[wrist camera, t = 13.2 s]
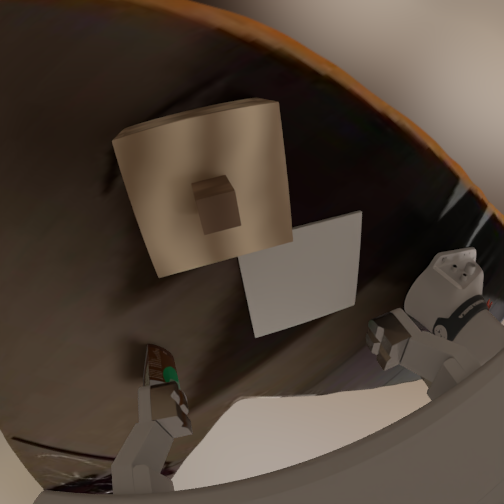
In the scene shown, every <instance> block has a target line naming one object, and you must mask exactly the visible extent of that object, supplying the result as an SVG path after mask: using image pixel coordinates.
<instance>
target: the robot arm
mask: <svg viewBox="0 0 504 504" xmlns="http://www.w3.org/2000/svg"><path fill="white" fill-rule="evenodd" d="M475 260H476V249H475V248H474V247H468V248H463V249H457V250H451V251H446V252H440V253H438V254H436V256H435V257H434V258H433V260H432V261H431V263H430V265H429V266H428V267H427V268H426V269H425V270H424V271H423V272H422V273H421V275H420V276H419V277H418V278H417V279H416V281H415V282H414V283H413V285H412V286H411V288H410V290H409V292H408V294H407V296H406V299H405V303H404V310H405V312H406V313H407V314H408V315H410V316H411V317H413V318H415V319H416V320H417V321H419V322H420V323H421V324H422V325H424V326H425V327H426V328H427V329H428V330H429V331H430V332H432V333H433V334H431V333H429V332H426V331H422V332H421V331H420V330H419V328H418V327H417V326H416V325H415V324H414V322H413V321H412V320H411V319H410V318H409V317H408V315H407V314H406V313H405V312H404V311H403V310H402V309H401V308H397V309H395V310H393V311H391V312H387V313H385V314H383V315H381V316H378V317H376V318H374V319H371V320H370V321H369V323H368V327H369V328H370V329H369V331H368V332H367V334H366V341H367V345H368V347H369V349H370V351H371V352H372V353H374V354H376V355H377V361H378V363H379V364H380V366H381V367H382V369H383V370H384V371H385V370H387V369H389V368H391V367H394V366H396V365H398V364H400V365H402V366H403V367H405V368H407V369H409V370H411V371H412V372H414V373H416V374H418V375H420V376H421V377H423V378H425V379H427V380H429V381H430V382H432V384H431V385H430V387H429V389H428V391H427V394H428V396H429V397H430V399H431V400H432V401H431V402H429V403H428V404H426V405H424V406H423V407H421V408H419V409H418V410H416V411H414V412H413V413H411V414H409V415H408V416H405V417H404V418H402V419H400V420H398V421H397V422H394V423H393V424H391V425H389V426H387V427H385V428H383V429H381V430H379V431H377V432H375V433H373V434H371V435H369V436H367V437H365V438H363V439H360V440H358V441H356V442H353V443H351V444H349V445H346V446H344V447H342V448H339V449H337V450H334V451H332V452H329V453H327V454H324V455H322V456H319V457H316V458H314V459H311V460H308V461H305V462H302V463H299V464H296V465H293V466H290V467H287V468H283V469H280V470H277V471H273V472H270V473H266V474H263V475H259V476H255V477H251V478H247V479H243V480H238V481H233V482H229V483H224V484H219V485H213V486H208V487H202V488H195V489H188V490H180V491H174V487H173V482H172V481H171V480H170V479H168V478H166V477H165V476H163V475H161V474H160V472H161V469H162V467H163V464H164V462H165V459H166V457H167V454H168V452H169V449H170V447H171V445H172V442H173V440H174V439H173V438H176V437H181V436H186V435H191V434H193V433H192V427H191V421H190V419H189V418H188V417H187V413H188V411H189V409H188V404H187V401H186V397H185V395H184V393H183V392H182V390H179V388H178V384H177V383H176V381H171V382H166V383H161V384H155V385H149V386H144V387H139V390H138V410H139V423H136V424H135V426H134V428H133V429H132V431H131V433H130V434H129V436H128V438H127V440H126V441H125V443H124V445H123V447H122V448H121V450H120V452H119V454H118V455H117V457H116V459H115V461H114V462H113V464H112V483H113V495H107V494H81V493H68V492H58V491H43V492H41V493H40V494H39V496H38V497H37V498H36V500H35V501H34V503H33V504H504V326H503V325H502V324H501V323H500V322H499V321H498V320H497V319H496V318H495V317H494V316H493V315H492V314H491V313H490V312H489V308H490V306H491V304H492V302H491V303H490V305H489V302H490V299H489V300H488V302H487V304H486V302H485V300H484V298H483V296H482V288H483V271H482V269H481V268H480V266H479V265H478V264H477V263H476V262H475Z"/></svg>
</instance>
